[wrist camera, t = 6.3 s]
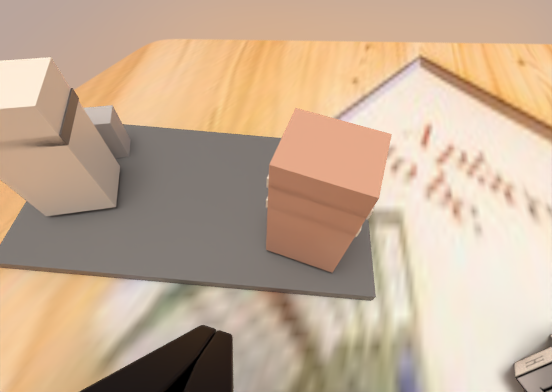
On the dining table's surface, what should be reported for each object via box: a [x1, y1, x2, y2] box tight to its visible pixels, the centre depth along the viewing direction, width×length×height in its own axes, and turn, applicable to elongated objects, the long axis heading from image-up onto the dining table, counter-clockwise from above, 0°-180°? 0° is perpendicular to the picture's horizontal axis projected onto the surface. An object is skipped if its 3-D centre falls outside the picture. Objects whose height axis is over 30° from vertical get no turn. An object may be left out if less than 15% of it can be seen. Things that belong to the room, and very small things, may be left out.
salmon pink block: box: [266, 108, 392, 273], centre depth 19 cm, size 4×5×10 cm
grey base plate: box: [0, 105, 376, 300], centre depth 24 cm, size 14×27×5 cm, turn 86°
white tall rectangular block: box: [0, 57, 120, 216], centre depth 20 cm, size 4×5×10 cm
